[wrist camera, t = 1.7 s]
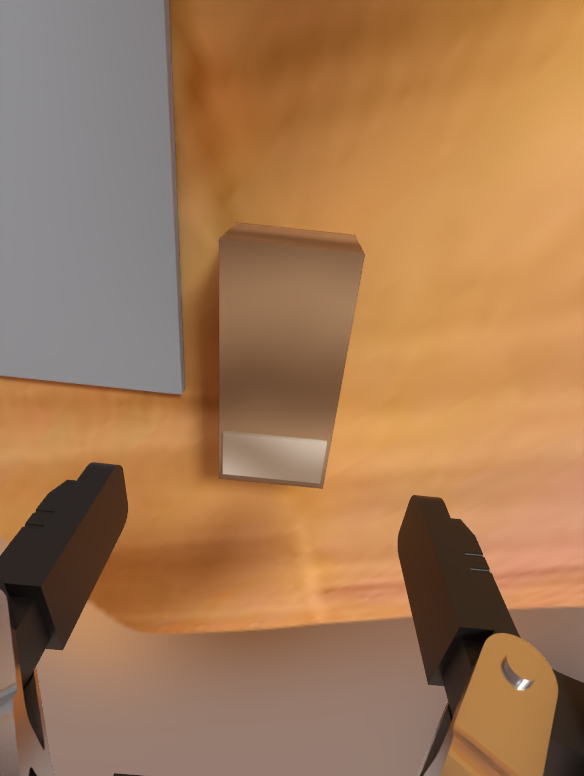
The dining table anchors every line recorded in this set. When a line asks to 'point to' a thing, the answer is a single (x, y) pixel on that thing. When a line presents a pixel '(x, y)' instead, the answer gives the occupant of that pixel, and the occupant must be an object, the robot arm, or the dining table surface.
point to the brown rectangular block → (282, 349)
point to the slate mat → (89, 195)
